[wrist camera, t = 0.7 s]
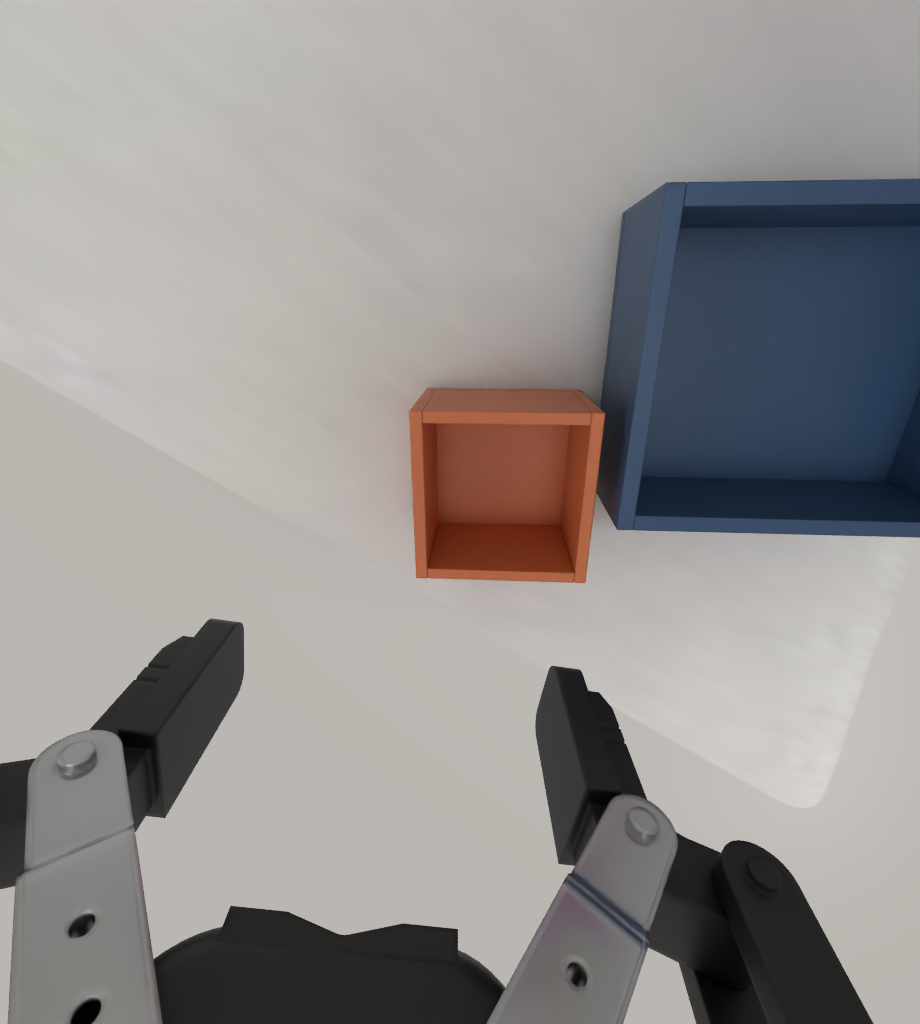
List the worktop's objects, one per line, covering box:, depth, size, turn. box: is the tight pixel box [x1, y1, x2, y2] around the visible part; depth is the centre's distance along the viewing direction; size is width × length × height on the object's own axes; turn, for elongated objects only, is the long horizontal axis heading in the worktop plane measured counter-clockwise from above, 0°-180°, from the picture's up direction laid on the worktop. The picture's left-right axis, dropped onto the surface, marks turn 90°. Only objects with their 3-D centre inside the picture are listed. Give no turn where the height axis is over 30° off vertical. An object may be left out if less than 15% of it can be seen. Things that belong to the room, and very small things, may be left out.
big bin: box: [596, 179, 920, 537], centre depth 24 cm, size 18×15×7 cm
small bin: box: [409, 389, 605, 583], centre depth 27 cm, size 9×9×6 cm
